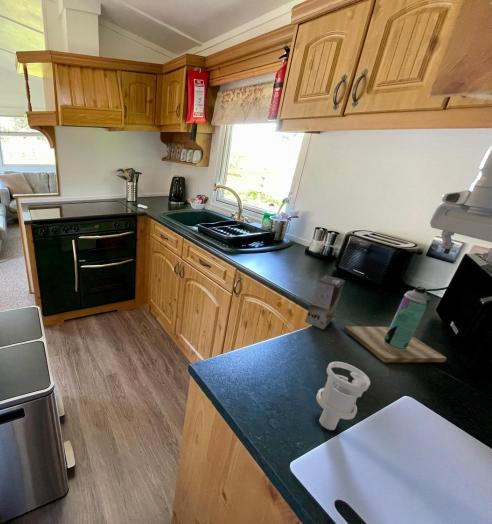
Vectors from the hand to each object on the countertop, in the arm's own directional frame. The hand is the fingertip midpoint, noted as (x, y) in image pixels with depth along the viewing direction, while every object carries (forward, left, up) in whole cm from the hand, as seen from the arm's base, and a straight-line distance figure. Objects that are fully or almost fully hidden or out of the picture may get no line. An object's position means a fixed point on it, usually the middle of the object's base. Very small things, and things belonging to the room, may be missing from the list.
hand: (465, 254), depth 75 cm
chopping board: (+1, -6, -33) cm, 34 cm away
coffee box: (+17, -19, -33) cm, 42 cm away
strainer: (+43, +21, -33) cm, 59 cm away
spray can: (+3, -4, -32) cm, 32 cm away
